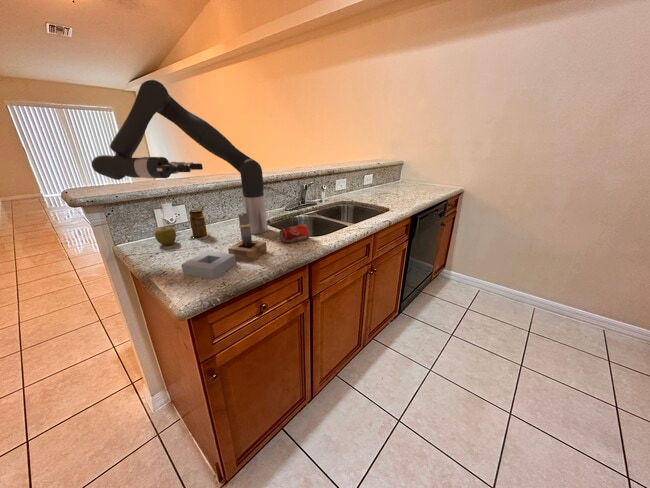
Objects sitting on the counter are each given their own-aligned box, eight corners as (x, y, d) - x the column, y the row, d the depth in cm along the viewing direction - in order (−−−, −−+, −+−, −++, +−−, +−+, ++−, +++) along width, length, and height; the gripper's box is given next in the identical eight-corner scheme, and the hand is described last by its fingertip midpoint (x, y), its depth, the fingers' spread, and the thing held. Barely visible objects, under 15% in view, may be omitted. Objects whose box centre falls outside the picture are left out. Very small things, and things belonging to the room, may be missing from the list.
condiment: (209, 232, 126) (205, 208, 122) (206, 238, 118) (201, 212, 114) (193, 234, 124) (188, 209, 120) (189, 240, 117) (183, 214, 112)
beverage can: (278, 241, 115) (277, 226, 112) (303, 236, 120) (302, 222, 118) (285, 246, 109) (284, 231, 107) (310, 240, 115) (310, 226, 112)
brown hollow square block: (245, 248, 107) (243, 239, 105) (266, 251, 104) (265, 241, 102) (229, 258, 98) (228, 248, 97) (253, 261, 95) (251, 251, 94)
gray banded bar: (247, 252, 103) (242, 212, 97) (255, 253, 102) (251, 213, 96) (241, 256, 100) (236, 215, 94) (250, 257, 99) (245, 216, 93)
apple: (173, 239, 118) (169, 224, 115) (181, 243, 113) (177, 227, 110) (154, 244, 112) (150, 228, 109) (162, 248, 107) (158, 232, 105)
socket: (208, 259, 97) (207, 250, 96) (236, 263, 94) (235, 254, 93) (183, 274, 87) (181, 264, 85) (213, 279, 83) (211, 269, 82)
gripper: (136, 158, 88) (183, 158, 87) (163, 155, 101) (203, 155, 100) (142, 181, 90) (187, 181, 89) (167, 175, 104) (207, 175, 103)
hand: (196, 167), depth 95 cm, fingers open, 8 cm apart
